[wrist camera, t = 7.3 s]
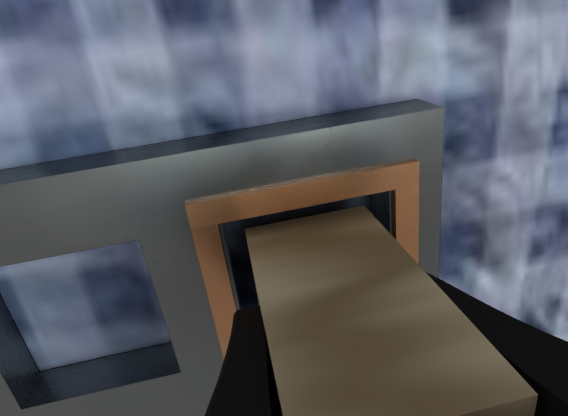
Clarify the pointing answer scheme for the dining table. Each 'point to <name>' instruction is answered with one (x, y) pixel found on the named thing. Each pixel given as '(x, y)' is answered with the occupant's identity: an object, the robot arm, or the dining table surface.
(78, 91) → the dining table surface
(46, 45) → the dining table surface
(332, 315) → the birch peg
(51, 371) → the gray peg hole board
